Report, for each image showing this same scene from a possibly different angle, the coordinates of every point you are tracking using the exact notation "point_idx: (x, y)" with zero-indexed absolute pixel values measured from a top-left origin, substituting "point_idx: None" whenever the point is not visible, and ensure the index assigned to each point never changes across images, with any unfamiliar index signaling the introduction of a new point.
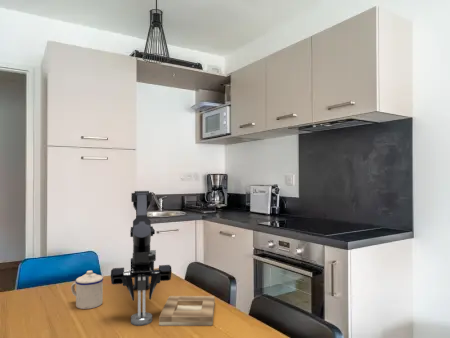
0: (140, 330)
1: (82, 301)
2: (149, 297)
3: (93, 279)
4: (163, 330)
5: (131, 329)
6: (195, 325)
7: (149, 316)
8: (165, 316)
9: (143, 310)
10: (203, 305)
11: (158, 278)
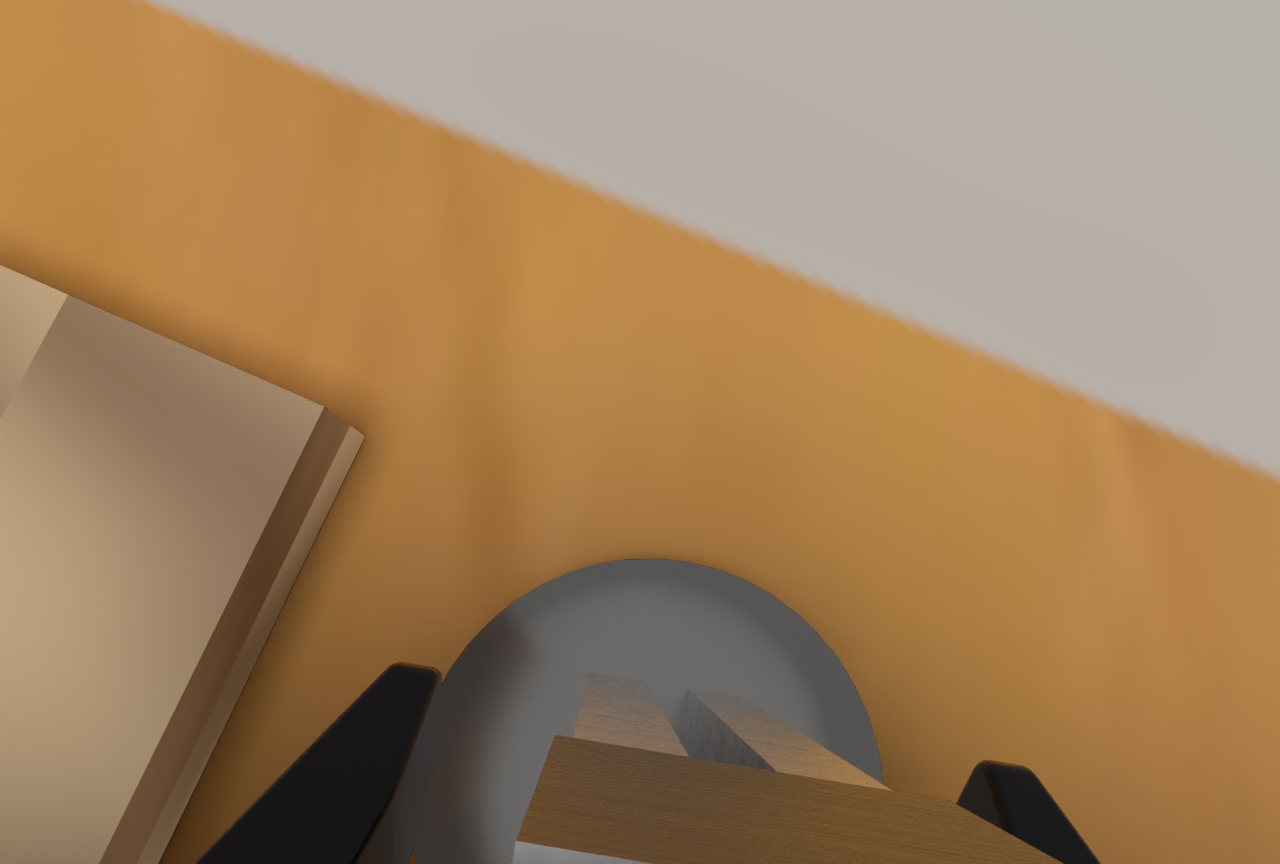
0: (729, 369)
1: None
2: (430, 680)
3: None
4: (344, 206)
5: (878, 476)
6: None
7: (484, 719)
8: (182, 382)
9: (631, 692)
10: None
11: None
